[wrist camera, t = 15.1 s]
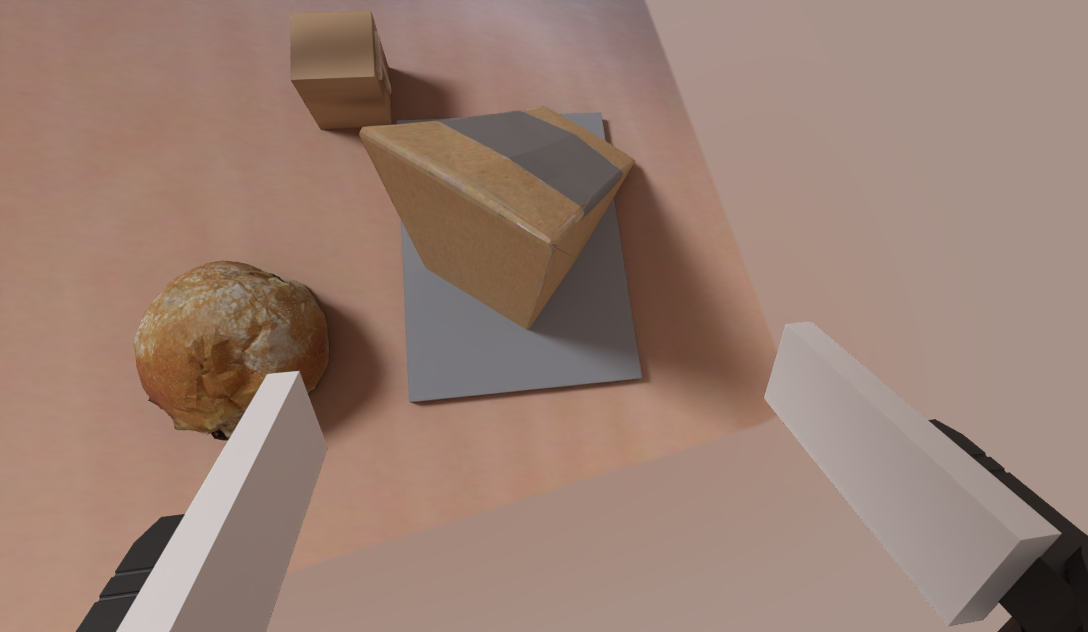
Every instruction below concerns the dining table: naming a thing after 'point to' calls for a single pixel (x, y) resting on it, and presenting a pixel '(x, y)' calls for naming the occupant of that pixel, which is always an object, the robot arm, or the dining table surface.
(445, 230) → the sandwich container
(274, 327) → the bread roll
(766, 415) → the dining table surface
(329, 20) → the wooden letter cube
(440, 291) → the grey rubber mat
